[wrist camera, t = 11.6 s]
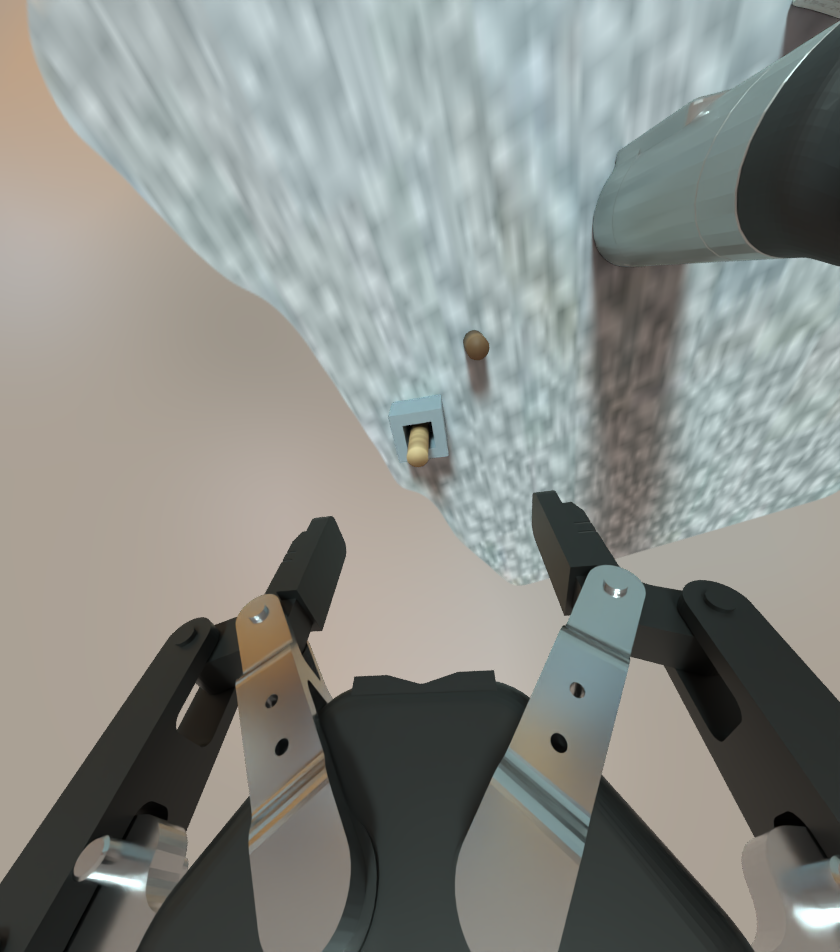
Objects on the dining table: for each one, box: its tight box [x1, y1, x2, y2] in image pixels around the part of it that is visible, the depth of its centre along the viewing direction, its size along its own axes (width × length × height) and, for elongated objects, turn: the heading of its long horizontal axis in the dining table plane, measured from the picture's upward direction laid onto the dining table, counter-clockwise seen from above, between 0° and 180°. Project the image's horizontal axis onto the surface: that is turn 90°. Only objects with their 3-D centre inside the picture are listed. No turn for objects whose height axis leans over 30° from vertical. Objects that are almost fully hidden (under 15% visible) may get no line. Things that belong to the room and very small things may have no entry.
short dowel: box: [463, 330, 489, 360], centre depth 34 cm, size 2×2×4 cm
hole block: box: [388, 395, 449, 463], centre depth 40 cm, size 6×6×5 cm
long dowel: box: [407, 422, 429, 467], centre depth 38 cm, size 2×2×10 cm
